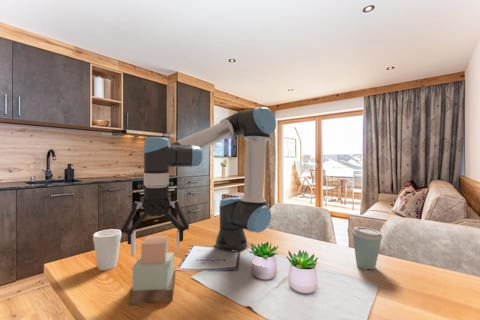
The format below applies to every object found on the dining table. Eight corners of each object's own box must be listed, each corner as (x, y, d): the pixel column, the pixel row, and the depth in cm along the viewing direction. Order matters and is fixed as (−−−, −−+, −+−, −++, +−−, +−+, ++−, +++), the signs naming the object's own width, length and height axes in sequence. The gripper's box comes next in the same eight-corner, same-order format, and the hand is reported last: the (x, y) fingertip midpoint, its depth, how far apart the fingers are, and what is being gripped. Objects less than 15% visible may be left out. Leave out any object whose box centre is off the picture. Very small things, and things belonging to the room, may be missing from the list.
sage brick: (173, 272, 81) (173, 252, 81) (167, 289, 71) (167, 266, 71) (143, 273, 80) (143, 253, 80) (132, 290, 70) (132, 267, 70)
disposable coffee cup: (367, 259, 100) (368, 224, 100) (388, 271, 90) (389, 232, 90) (345, 262, 98) (346, 226, 98) (365, 275, 87) (366, 234, 87)
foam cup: (108, 273, 86) (108, 238, 86) (87, 270, 88) (87, 236, 88) (126, 262, 96) (126, 230, 95) (106, 259, 98) (106, 228, 97)
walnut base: (175, 281, 82) (175, 270, 82) (172, 303, 71) (172, 289, 71) (138, 285, 80) (138, 273, 80) (129, 307, 68) (129, 293, 68)
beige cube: (168, 253, 80) (168, 235, 80) (165, 262, 73) (165, 243, 73) (146, 254, 78) (146, 236, 78) (141, 264, 72) (141, 244, 71)
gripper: (196, 184, 81) (195, 245, 82) (117, 185, 77) (117, 250, 77) (196, 187, 74) (196, 254, 74) (109, 188, 69) (109, 260, 70)
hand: (156, 252), depth 76 cm, fingers open, 13 cm apart
